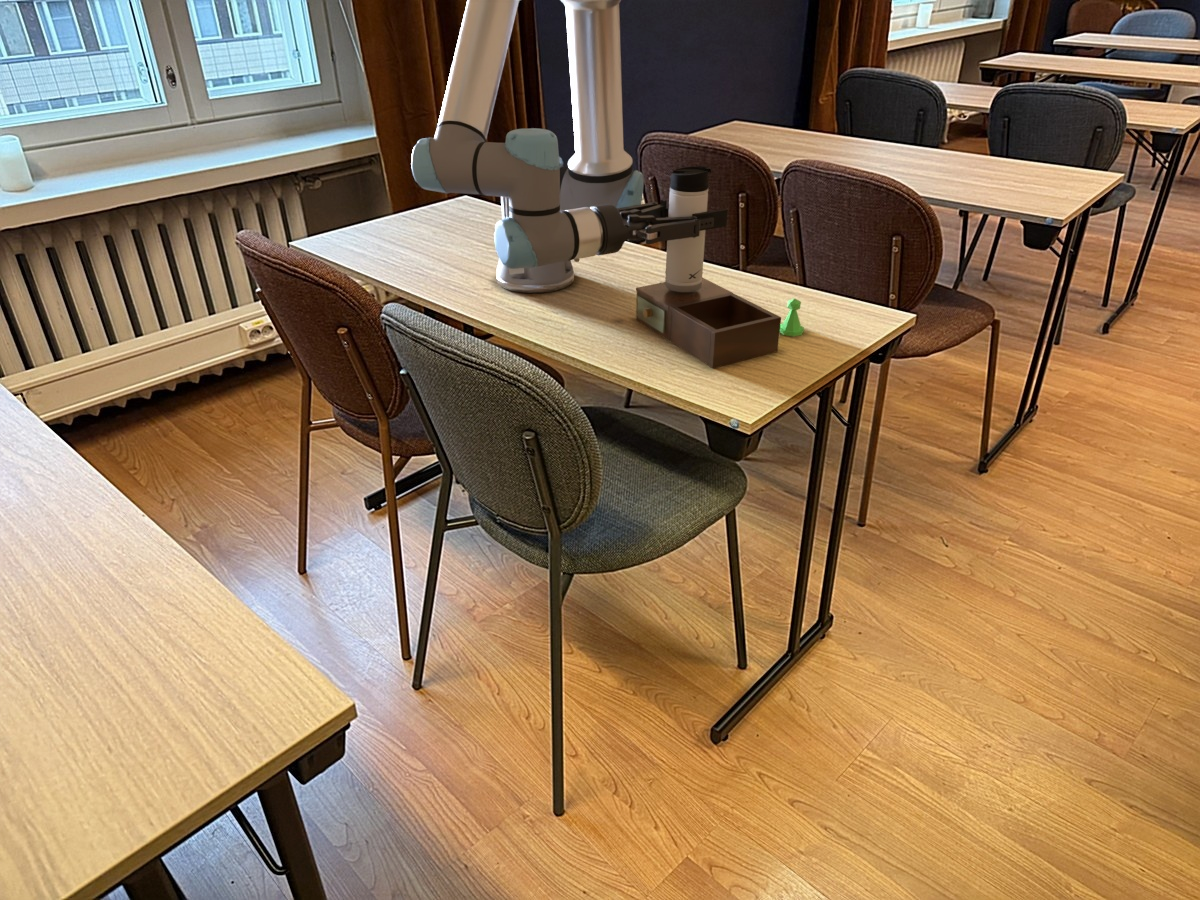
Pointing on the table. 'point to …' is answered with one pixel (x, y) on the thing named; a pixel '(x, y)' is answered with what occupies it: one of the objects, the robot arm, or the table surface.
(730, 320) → the storage box
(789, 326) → the game piece
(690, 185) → the travel mug
